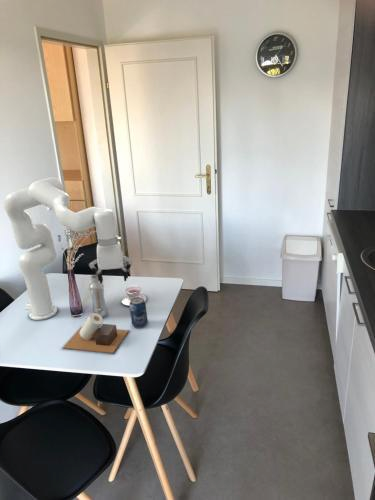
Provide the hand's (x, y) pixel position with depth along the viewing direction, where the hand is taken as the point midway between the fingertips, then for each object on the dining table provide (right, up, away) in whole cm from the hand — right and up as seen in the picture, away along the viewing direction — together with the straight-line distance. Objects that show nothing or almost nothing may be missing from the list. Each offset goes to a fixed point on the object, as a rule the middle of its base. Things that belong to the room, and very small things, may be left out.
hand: (113, 280), depth 169 cm
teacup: (+4, -13, +36) cm, 38 cm away
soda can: (+9, -20, +14) cm, 26 cm away
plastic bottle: (-10, -18, +24) cm, 32 cm away
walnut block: (-3, -25, +4) cm, 26 cm away
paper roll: (-10, -19, +3) cm, 22 cm away
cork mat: (-8, -25, +5) cm, 27 cm away
